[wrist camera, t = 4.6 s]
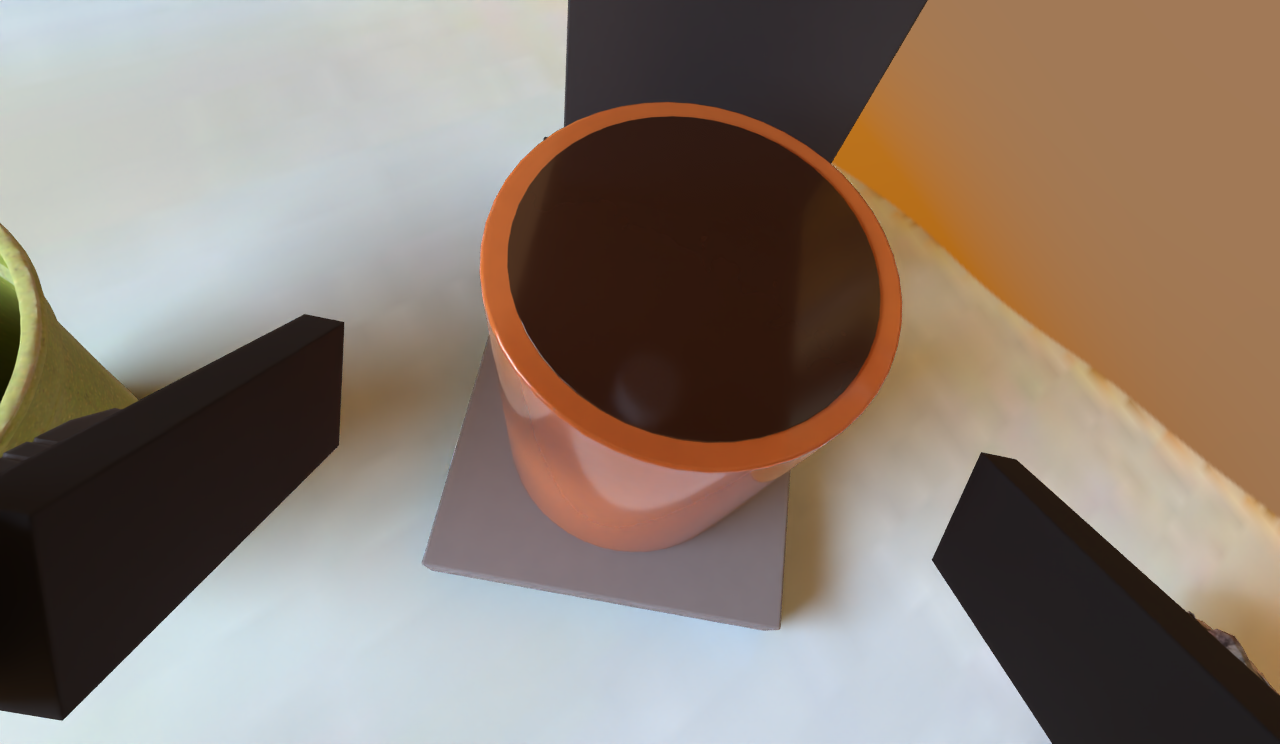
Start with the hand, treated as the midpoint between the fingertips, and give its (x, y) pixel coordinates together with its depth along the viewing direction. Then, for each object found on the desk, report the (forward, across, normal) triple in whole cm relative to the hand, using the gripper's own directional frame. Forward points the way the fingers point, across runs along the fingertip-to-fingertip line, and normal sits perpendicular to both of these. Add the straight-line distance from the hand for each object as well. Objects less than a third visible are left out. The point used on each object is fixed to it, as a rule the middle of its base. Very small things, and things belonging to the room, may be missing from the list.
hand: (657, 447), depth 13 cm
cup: (+8, 0, -3) cm, 8 cm away
